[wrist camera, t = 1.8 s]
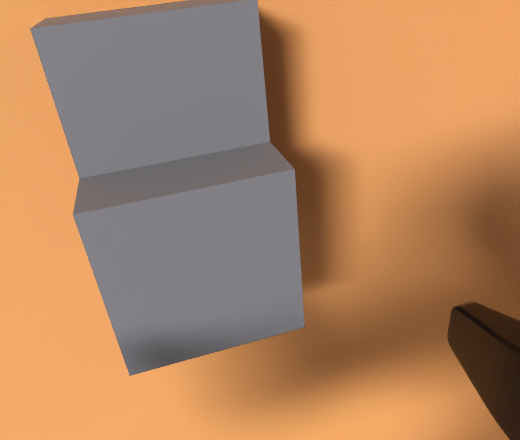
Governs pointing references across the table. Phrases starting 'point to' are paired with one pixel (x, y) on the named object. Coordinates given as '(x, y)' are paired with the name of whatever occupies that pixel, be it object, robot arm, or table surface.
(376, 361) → the table surface
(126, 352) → the stepped block
